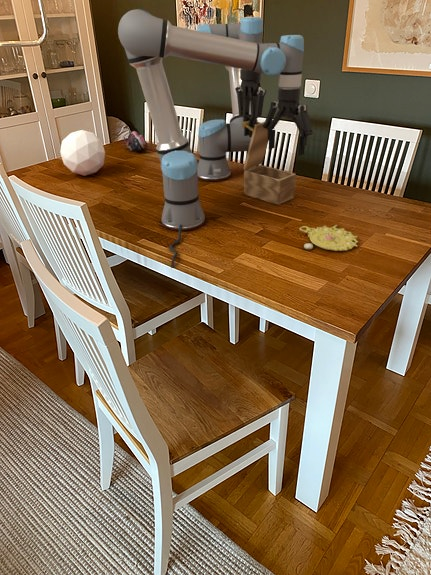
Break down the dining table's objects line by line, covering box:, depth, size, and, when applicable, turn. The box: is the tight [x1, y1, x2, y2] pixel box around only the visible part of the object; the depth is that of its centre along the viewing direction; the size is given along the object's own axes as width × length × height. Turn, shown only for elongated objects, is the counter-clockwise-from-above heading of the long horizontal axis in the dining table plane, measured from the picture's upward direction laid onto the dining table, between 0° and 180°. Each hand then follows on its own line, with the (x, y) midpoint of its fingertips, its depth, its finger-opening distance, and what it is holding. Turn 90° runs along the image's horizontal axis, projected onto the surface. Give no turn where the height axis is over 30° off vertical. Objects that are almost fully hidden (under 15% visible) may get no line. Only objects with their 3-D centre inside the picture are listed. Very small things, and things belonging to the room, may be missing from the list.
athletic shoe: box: [121, 130, 149, 153], centre depth 234 cm, size 11×22×12 cm
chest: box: [243, 164, 297, 206], centre depth 172 cm, size 17×10×10 cm, turn 45°
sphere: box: [59, 129, 106, 177], centre depth 200 cm, size 19×20×20 cm
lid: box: [242, 119, 269, 171], centre depth 170 cm, size 18×10×8 cm
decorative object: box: [299, 224, 359, 252], centre depth 141 cm, size 21×2×20 cm
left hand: (285, 151), depth 161 cm, fingers open, 12 cm apart
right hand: (249, 135), depth 170 cm, fingers closed on lid, 2 cm apart
